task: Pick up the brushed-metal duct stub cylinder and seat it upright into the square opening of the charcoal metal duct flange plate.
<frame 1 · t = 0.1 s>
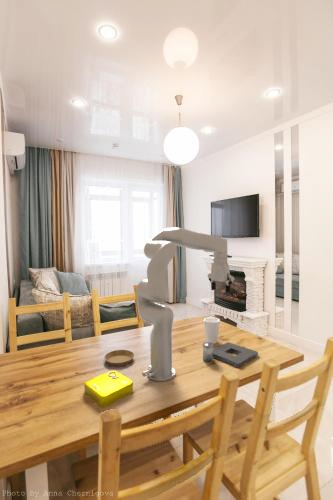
hand: (220, 291, 148), 31 cm above the table, fingers open, 9 cm apart
plant saucer: (119, 361, 133), on the table
foam cup: (211, 341, 155), on the table
duct flange: (233, 355, 137), on the table
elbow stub: (208, 360, 132), on the table
element tile: (108, 392, 106), on the table
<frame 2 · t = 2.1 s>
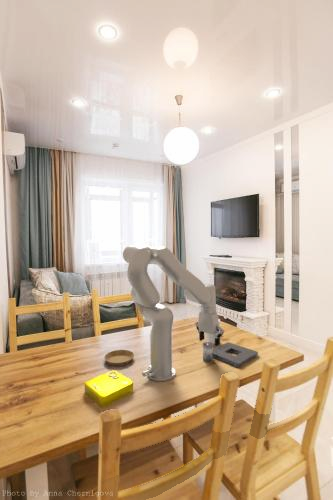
hand: (209, 342, 132), 9 cm above the table, fingers open, 9 cm apart
nothing on the table moved.
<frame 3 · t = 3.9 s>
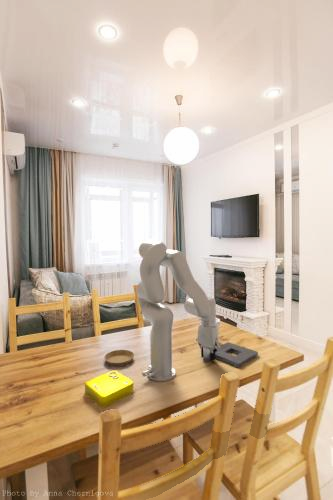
hand: (208, 357, 132), 1 cm above the table, fingers closed on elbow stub, 5 cm apart
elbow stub: (208, 359, 132), on the table, touching gripper
everything else where it was.
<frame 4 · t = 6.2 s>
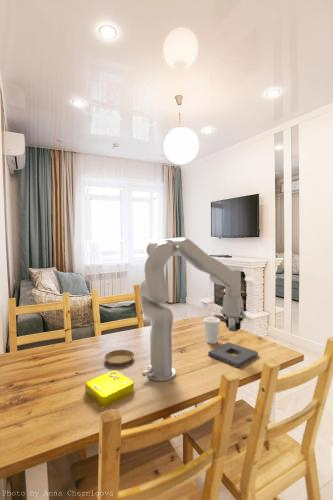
hand: (233, 327, 136), 15 cm above the table, fingers closed on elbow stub, 5 cm apart
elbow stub: (233, 329, 136), point 14 cm above the table, touching gripper
everything else where it was.
when the fingers open (4 cm above the table, at t = 8.8 s): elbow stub drops 3 cm, resting in duct flange.
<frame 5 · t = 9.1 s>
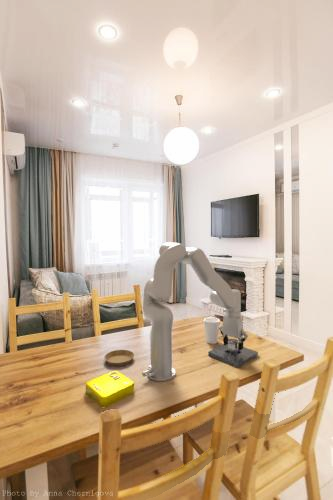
hand: (233, 346, 136), 5 cm above the table, fingers open, 8 cm apart
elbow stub: (232, 355, 137), resting in duct flange
everything else where it was.
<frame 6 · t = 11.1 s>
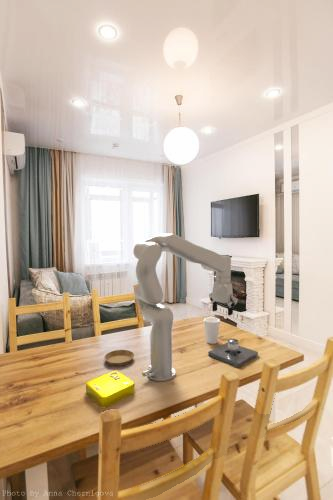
hand: (222, 312, 136), 22 cm above the table, fingers open, 9 cm apart
nothing on the table moved.
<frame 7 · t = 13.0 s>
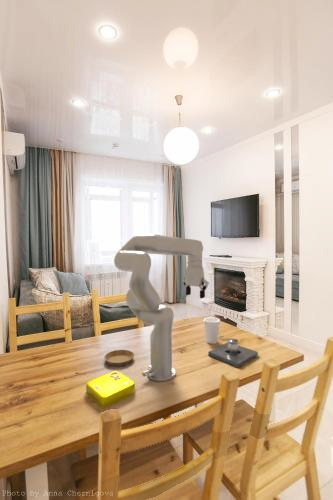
hand: (195, 296, 139), 30 cm above the table, fingers open, 9 cm apart
nothing on the table moved.
at the end: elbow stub 0.0 cm off-centre on the duct flange, point 0.0 cm above the duct flange's base; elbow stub tilted 0°; the gripper is holding nothing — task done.
